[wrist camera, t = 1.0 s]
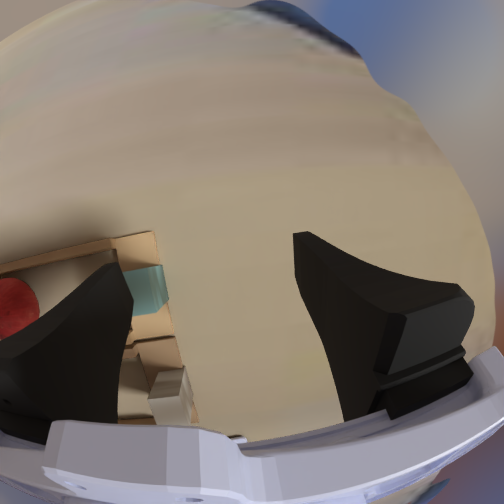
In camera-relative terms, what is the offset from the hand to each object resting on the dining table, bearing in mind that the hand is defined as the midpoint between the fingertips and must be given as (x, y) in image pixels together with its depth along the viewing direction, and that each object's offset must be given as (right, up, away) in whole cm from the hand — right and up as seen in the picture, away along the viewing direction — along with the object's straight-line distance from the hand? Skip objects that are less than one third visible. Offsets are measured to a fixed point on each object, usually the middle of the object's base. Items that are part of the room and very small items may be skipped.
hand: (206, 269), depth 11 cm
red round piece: (-20, -4, +11) cm, 23 cm away
